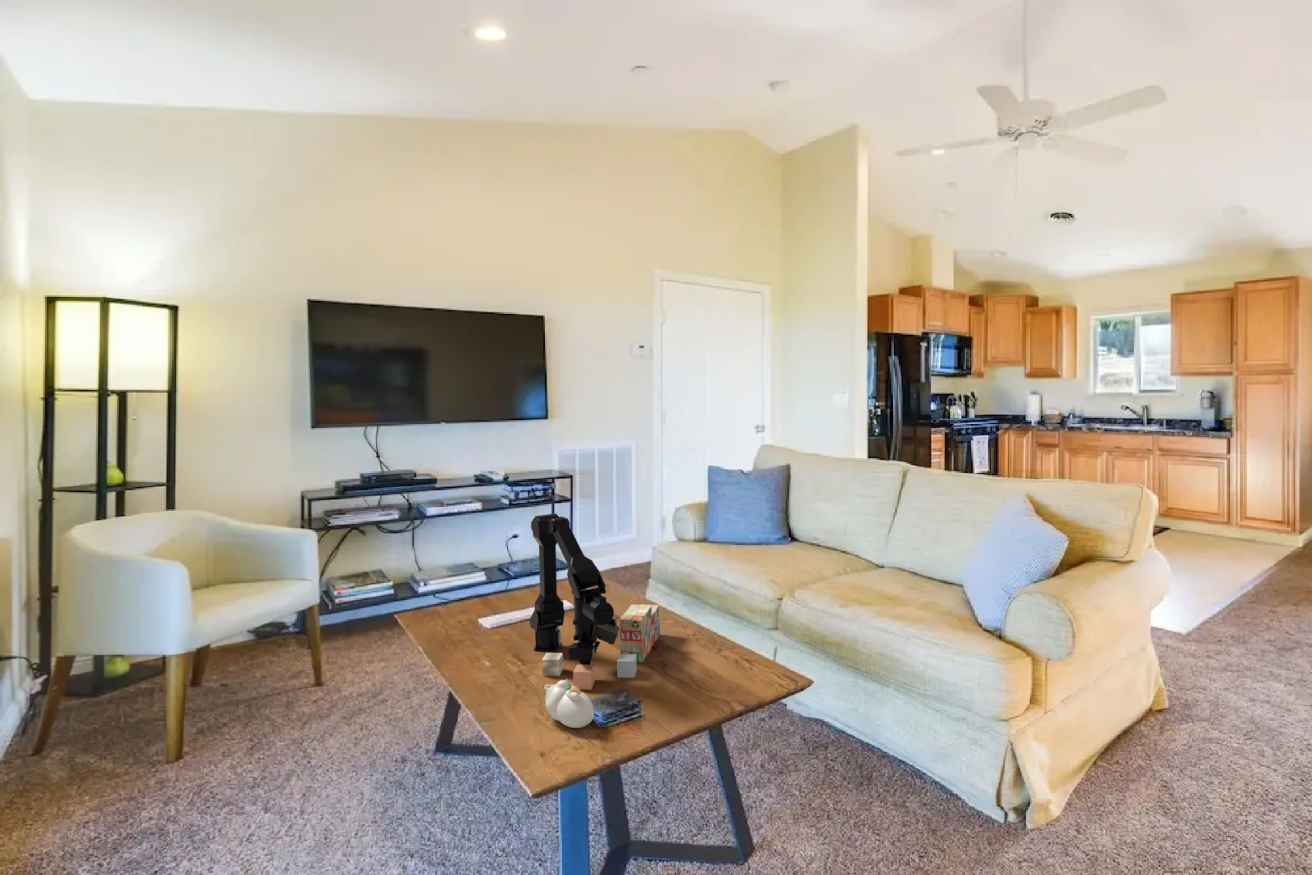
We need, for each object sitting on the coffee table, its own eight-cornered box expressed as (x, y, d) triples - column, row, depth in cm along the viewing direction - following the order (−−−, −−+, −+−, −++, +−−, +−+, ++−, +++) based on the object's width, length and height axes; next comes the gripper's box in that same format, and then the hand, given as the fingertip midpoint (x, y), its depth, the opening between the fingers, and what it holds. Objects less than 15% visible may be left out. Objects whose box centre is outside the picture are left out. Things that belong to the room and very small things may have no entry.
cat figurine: (594, 689, 146) (551, 664, 156) (569, 719, 142) (526, 691, 151) (608, 715, 151) (565, 689, 161) (585, 744, 147) (542, 715, 156)
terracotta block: (573, 689, 167) (573, 671, 167) (577, 681, 172) (576, 664, 171) (591, 689, 167) (590, 672, 166) (594, 681, 171) (594, 664, 171)
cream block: (542, 676, 176) (542, 659, 175) (546, 668, 180) (546, 652, 180) (559, 676, 175) (558, 659, 175) (563, 669, 180) (562, 653, 179)
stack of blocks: (640, 633, 205) (639, 594, 204) (660, 634, 203) (659, 595, 202) (620, 661, 184) (619, 618, 183) (642, 663, 182) (641, 619, 181)
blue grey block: (617, 677, 174) (616, 660, 173) (619, 670, 178) (619, 653, 178) (634, 677, 173) (634, 661, 173) (636, 670, 178) (636, 654, 177)
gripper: (610, 627, 162) (612, 689, 163) (621, 602, 180) (623, 658, 182) (565, 626, 163) (568, 688, 164) (581, 602, 181) (583, 657, 183)
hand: (587, 672), depth 173 cm, fingers closed
